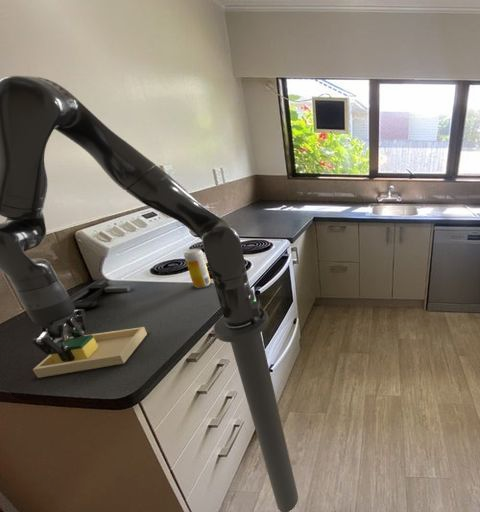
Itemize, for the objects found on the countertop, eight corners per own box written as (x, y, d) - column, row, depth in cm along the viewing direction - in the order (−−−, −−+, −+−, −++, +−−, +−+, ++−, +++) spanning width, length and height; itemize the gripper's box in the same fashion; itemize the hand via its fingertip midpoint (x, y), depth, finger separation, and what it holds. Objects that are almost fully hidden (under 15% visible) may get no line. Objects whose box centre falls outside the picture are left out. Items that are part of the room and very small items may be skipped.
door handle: (138, 277, 118) (94, 278, 116) (100, 303, 99) (48, 305, 97) (141, 284, 119) (97, 285, 117) (104, 311, 101) (52, 313, 99)
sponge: (99, 347, 81) (92, 334, 79) (88, 358, 77) (80, 345, 75) (69, 352, 79) (61, 339, 78) (56, 364, 75) (48, 350, 74)
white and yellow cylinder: (201, 281, 119) (191, 247, 113) (214, 281, 118) (205, 248, 112) (190, 288, 114) (179, 253, 108) (204, 289, 113) (193, 254, 107)
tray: (147, 334, 88) (144, 326, 86) (124, 363, 76) (120, 355, 75) (73, 345, 83) (69, 337, 82) (37, 378, 72) (32, 369, 71)
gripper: (41, 314, 66) (74, 370, 72) (84, 284, 78) (109, 335, 85) (0, 319, 64) (37, 376, 71) (51, 288, 77) (78, 339, 83)
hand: (76, 353), depth 78 cm, fingers closed on sponge, 4 cm apart
